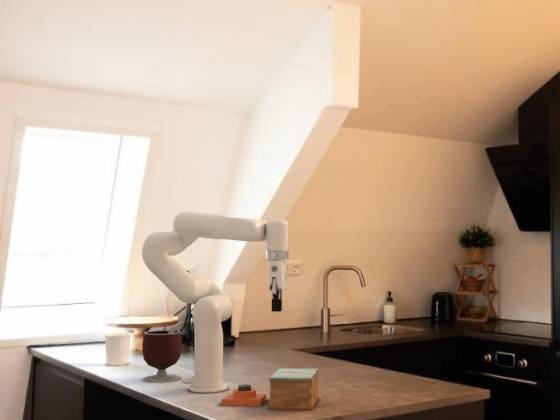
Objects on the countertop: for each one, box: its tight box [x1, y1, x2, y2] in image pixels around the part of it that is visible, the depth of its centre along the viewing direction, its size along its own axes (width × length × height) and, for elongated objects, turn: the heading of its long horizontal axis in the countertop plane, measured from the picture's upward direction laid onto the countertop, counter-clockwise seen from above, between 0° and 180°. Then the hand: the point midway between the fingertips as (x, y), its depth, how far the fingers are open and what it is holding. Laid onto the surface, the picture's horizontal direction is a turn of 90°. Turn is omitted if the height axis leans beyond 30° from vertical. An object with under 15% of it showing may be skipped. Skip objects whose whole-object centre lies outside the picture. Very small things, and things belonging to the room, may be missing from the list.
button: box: [237, 383, 252, 391], centre depth 239 cm, size 4×4×2 cm
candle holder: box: [104, 332, 131, 366], centre depth 313 cm, size 10×10×12 cm
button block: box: [221, 387, 267, 407], centre depth 239 cm, size 12×9×4 cm
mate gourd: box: [141, 321, 183, 383], centre depth 280 cm, size 16×14×20 cm
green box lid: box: [269, 367, 319, 381], centre depth 237 cm, size 16×13×1 cm
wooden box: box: [269, 371, 319, 411], centre depth 237 cm, size 16×13×9 cm
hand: (276, 311), depth 255 cm, fingers closed
